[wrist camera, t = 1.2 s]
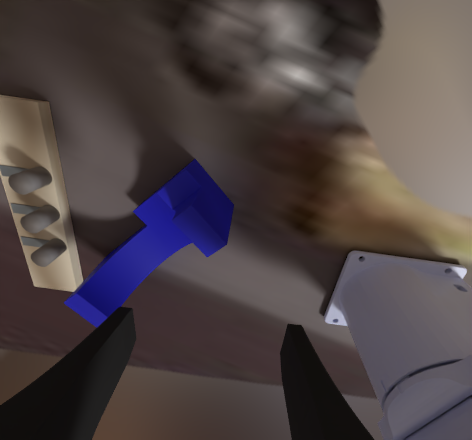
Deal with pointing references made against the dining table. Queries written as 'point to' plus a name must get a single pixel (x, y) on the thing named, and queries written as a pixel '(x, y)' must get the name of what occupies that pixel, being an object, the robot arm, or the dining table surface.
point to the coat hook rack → (38, 192)
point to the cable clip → (157, 240)
